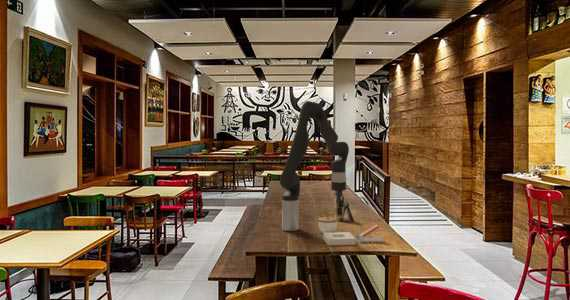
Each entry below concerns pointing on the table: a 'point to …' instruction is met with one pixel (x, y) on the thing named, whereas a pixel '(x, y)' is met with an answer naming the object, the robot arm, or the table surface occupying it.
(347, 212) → the phone stand
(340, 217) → the peg
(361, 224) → the table surface
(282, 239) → the table surface
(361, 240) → the lever bracket
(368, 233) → the latch lever
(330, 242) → the socket block
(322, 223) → the lidded jar
